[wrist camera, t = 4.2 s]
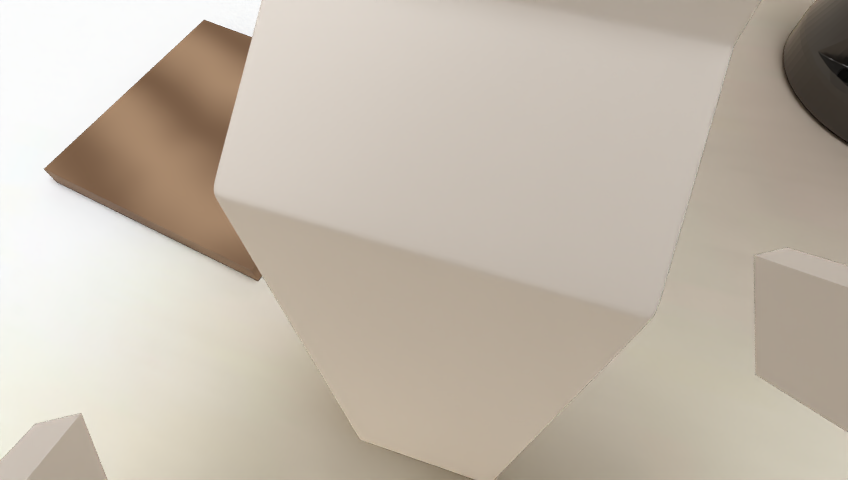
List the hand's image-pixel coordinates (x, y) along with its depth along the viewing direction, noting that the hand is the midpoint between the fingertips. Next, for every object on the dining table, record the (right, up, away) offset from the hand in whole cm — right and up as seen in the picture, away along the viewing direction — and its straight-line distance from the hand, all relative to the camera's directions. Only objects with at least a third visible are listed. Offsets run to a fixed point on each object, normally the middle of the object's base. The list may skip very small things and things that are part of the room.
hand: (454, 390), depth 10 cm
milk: (0, -4, +14) cm, 15 cm away
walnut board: (-12, +9, +22) cm, 27 cm away
